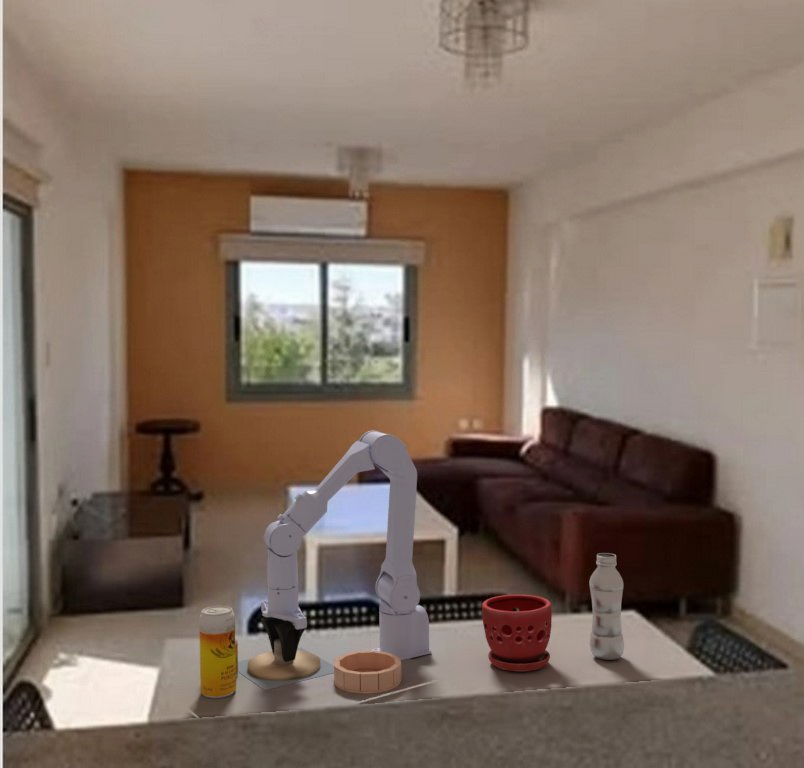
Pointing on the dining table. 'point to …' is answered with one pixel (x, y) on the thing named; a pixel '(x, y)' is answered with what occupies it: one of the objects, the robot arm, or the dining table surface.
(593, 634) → the plastic bottle
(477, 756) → the dining table surface
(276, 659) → the lid
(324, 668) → the mat
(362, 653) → the bowl
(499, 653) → the plant pot
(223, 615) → the beer can
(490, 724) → the dining table surface
